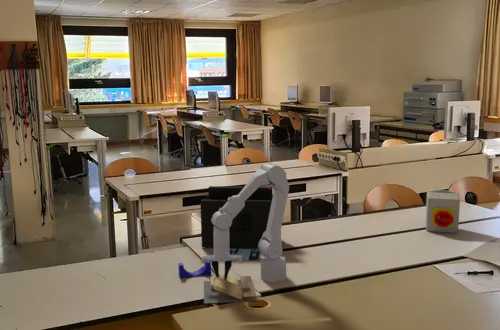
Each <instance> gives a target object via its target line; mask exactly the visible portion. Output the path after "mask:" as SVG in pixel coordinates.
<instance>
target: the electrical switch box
mask: <svg viewBox="0 0 500 330" xmlns="http://www.w3.org/2000/svg"><path fill="white" fill-rule="evenodd" d="M460 201H461V199H460V196H459V192H455V191H451V190H447V189H446V190H445V189H439V190H429V191H427V192H426V206H425V207H426V211H425V231H426V232H434V233H448V234H449V233H451V234H457V233H458V232H459V223H460V208H461V207H460V205H461V202H460Z"/></svg>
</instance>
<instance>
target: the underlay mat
mask: <svg viewBox="0 0 500 330" xmlns="http://www.w3.org/2000/svg"><path fill="white" fill-rule="evenodd" d="M238 282H239V286H241V282H240V279H238ZM252 283H253V287H254V286H255V285H254V282H253V280H252ZM254 291H255V295H256V300H248V301H247V302H257V301H258V297H257V294H256V289H255V287H254ZM238 302H239V303H240V302H243V303H244V302H245V301H244V298H243V297H242V299H238V298H236V297H233V296H231V295H228V294H226V293H223V292H220V291H218V290H215V289H211V280H204V281H203V304H218V303H221V304H222V303H223V304H224V303H238Z"/></svg>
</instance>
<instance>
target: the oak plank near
mask: <svg viewBox="0 0 500 330" xmlns="http://www.w3.org/2000/svg"><path fill="white" fill-rule="evenodd" d="M214 276H215V278H214V289H215V290H218V291H220V292H223V293H226V294H228V295H231V296H233V297H236V298H238V299H242V297H243V293H242V288H241V286H239V285H236V284H234V283H231V282H229V281H226V280H223V279H221V278H218V277H216V275H214Z"/></svg>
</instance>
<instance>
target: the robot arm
mask: <svg viewBox="0 0 500 330" xmlns="http://www.w3.org/2000/svg"><path fill="white" fill-rule="evenodd" d="M267 185H268V186H270V187H272V190H273V192H272V194H273V198H272V203H271V208H270V213H269V218H268V223H267V228H266V231H265V232H264V233H263V235H262V238H261V240H260V241H259V243H258V248H259V249H258V250H260V251H261V260H260V281H263V282H266V283H267V282H268V283H274V282H284V281H287V260H286V256H282V254H283V247H282V243H283V239H282V235H280V232H281V233H282V226H283V220H284V217H285V211H286V207H287V206H286V205H287V201H288V197H289V191H290V184H289V182H288V178H287V172H286V171H285V169H284V168H283V167H281V166H279V165H276V164H273V163H271V162H269V161H268V162H264V163H262V164H261V165H260V167H259V168H257V169H256V171H255V172H254V174H253V175H252V177H251V178H250V179H249V181H248V182H247V183H246V184H245V185H244V186H245V187H244V188H243V189H242V190H241V192H240V193H239V194H238V195H234V196H232V197H229V198H228V202H227V203H226V204H225V205H224V206H223V208H220V209H219V211H218V212H216V213H214V214H213V216H212V219H211V222H212V224H213V225H214V233H213V235H214V248H213V254H210V255H203V256H202V255H201V264H205V262H211V268H212V269H213V272H214V274H215V276H216V277H218V278H219V276H220V275H219V274H220V271H219V269H220V268H219V267H220V266H219V263H224V280H226V281H227V276H228V275H229V273H230V270H231V268H232V266H233V263H232V262H234V263H235V262H238V263H242V262H243V260H242V255H230V250H231V249H229V227H230V226H231V224H232V220H233V219H234V218H235V216H236V215H237V214H238V213H239V212H240V211H241V210H242V209H243V208H244V206H245V200H246V199H247V198H248V197H249V196H250V195H251V194H252V193H253V192H254V191H255V190H256V189H257V188H258V187H259V186H267Z"/></svg>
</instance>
